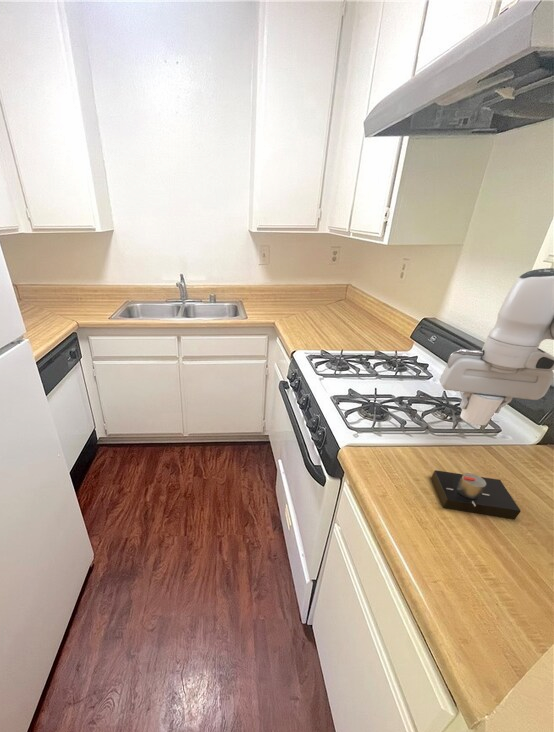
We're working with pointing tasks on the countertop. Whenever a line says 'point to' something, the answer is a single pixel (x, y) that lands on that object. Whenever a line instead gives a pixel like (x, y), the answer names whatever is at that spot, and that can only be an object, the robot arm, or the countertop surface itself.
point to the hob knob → (471, 486)
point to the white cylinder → (480, 408)
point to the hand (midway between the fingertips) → (478, 410)
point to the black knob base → (489, 502)
